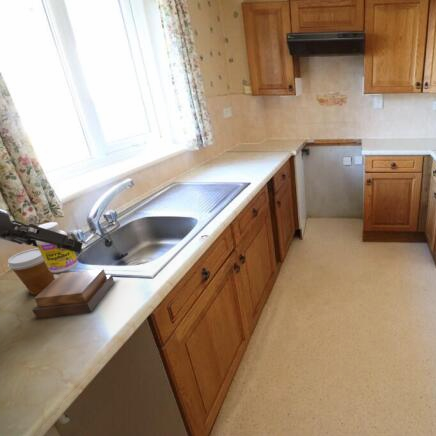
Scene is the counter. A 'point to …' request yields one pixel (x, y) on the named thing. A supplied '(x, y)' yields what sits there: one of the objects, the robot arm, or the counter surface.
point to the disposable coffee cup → (31, 270)
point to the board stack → (73, 293)
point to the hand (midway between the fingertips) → (68, 247)
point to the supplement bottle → (56, 252)
